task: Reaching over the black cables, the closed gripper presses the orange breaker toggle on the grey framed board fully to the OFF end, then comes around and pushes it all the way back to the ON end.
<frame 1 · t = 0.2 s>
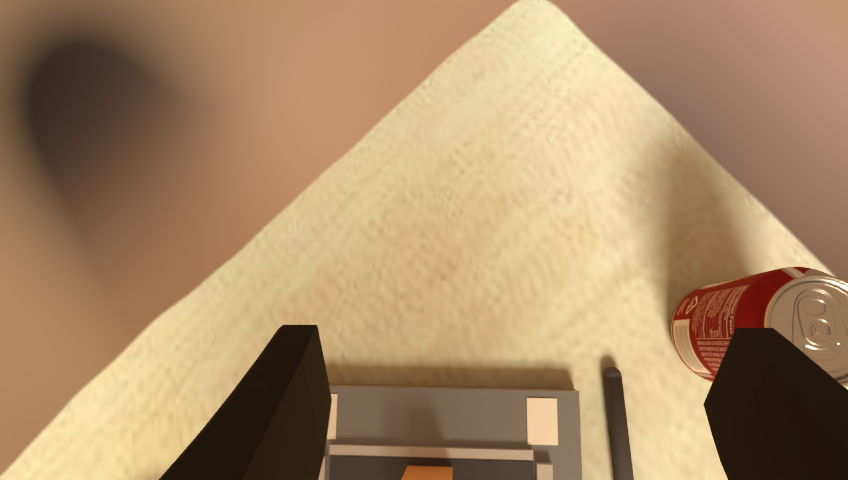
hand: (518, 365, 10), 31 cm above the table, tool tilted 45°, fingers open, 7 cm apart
soda can: (715, 333, 39), on the table
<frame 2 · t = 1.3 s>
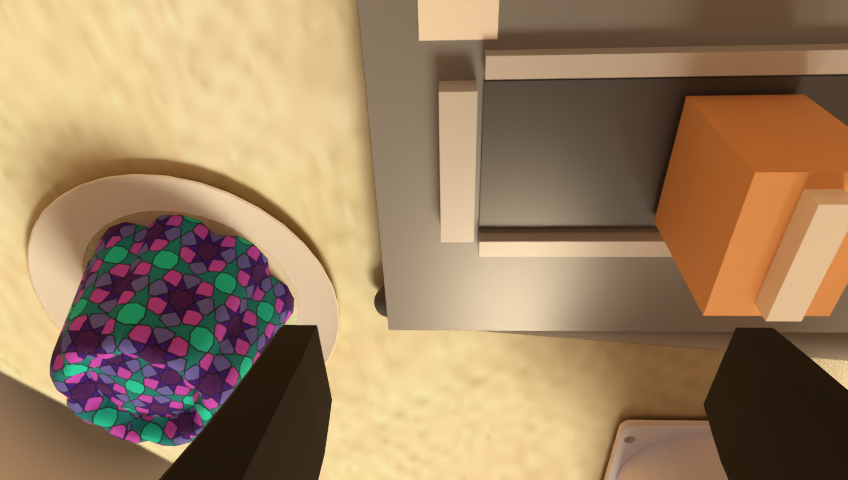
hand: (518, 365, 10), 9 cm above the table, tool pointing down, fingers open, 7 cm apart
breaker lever: (760, 208, 14), point 4 cm above the table, slide at 0.0 cm
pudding: (197, 291, 23), on the table
grey framed board: (698, 133, 17), on the table
cord b: (696, 324, 22), on the table
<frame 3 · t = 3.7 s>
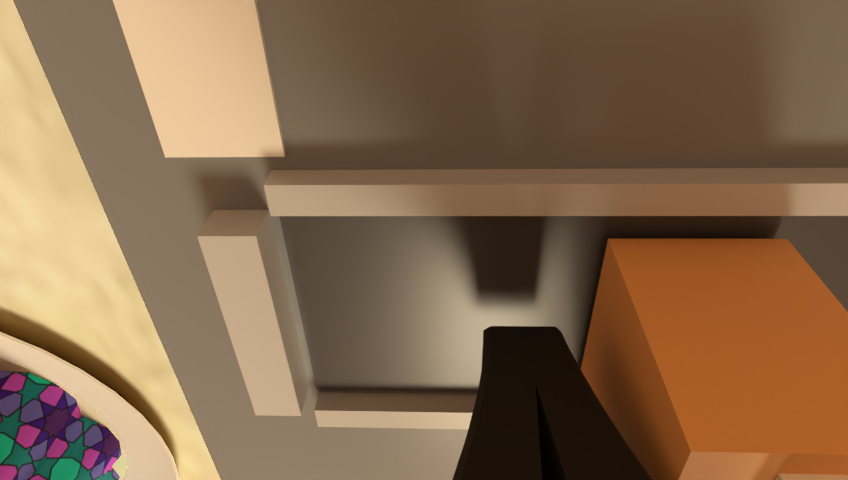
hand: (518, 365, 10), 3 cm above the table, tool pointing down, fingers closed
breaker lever: (716, 428, 9), point 4 cm above the table, slide at -0.4 cm, touching gripper
grey framed board: (622, 261, 12), on the table
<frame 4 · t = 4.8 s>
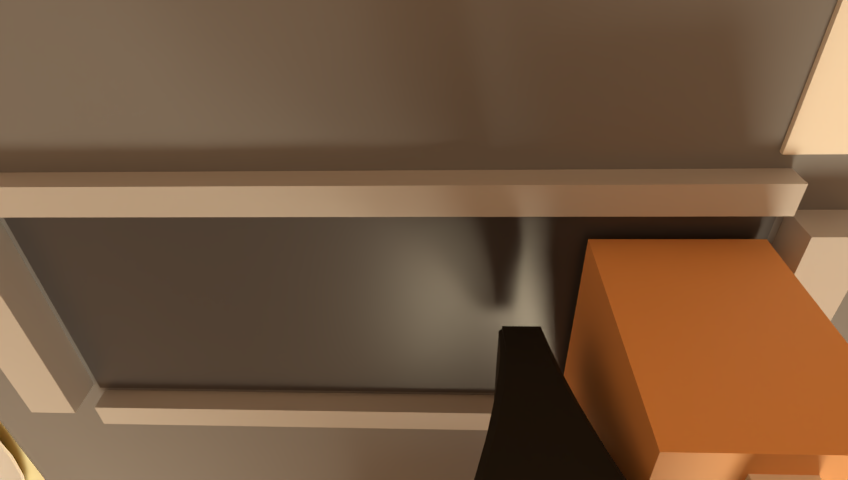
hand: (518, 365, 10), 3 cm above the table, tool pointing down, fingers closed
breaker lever: (695, 428, 9), point 4 cm above the table, slide at -5.2 cm, touching gripper
grey framed board: (393, 261, 13), on the table
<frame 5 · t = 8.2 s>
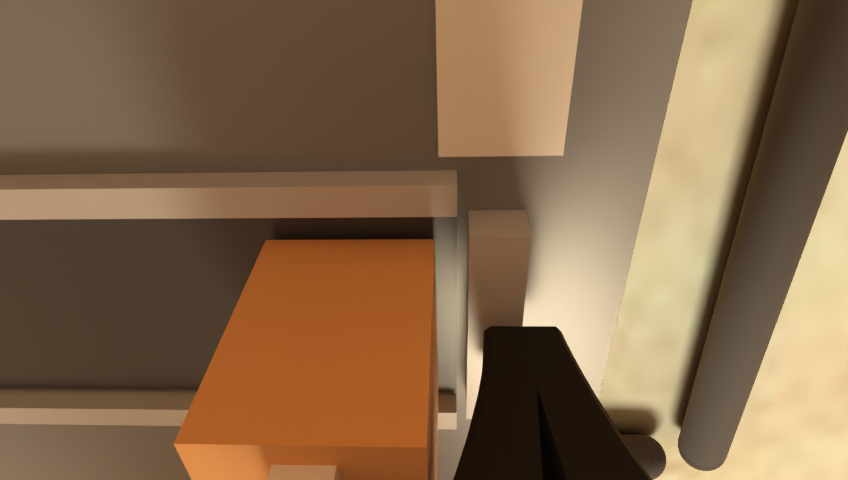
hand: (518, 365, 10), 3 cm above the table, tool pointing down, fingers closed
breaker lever: (342, 422, 9), point 4 cm above the table, slide at -4.9 cm, touching gripper
cord a: (260, 433, 17), resting on grey framed board
cord c: (755, 222, 12), on the table
grey framed board: (159, 262, 13), on the table
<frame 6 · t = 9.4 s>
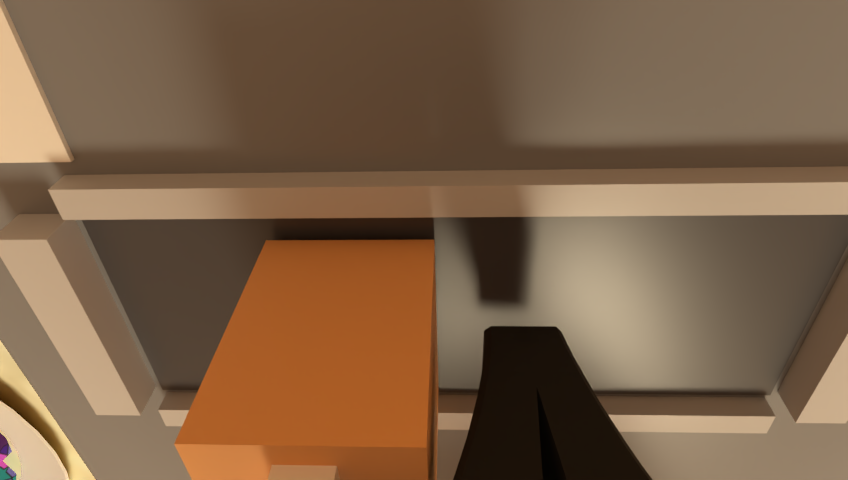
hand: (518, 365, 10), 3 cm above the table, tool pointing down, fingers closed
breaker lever: (342, 423, 9), point 4 cm above the table, slide at 1.9 cm, touching gripper
grey framed board: (457, 261, 12), on the table
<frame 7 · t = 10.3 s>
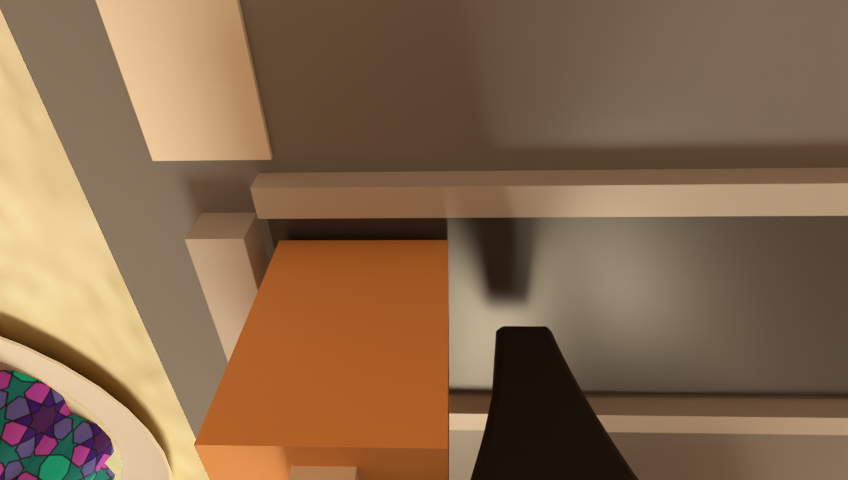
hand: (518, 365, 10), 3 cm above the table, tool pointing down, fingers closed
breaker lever: (356, 423, 9), point 4 cm above the table, slide at 5.1 cm, touching gripper
grey framed board: (611, 261, 12), on the table
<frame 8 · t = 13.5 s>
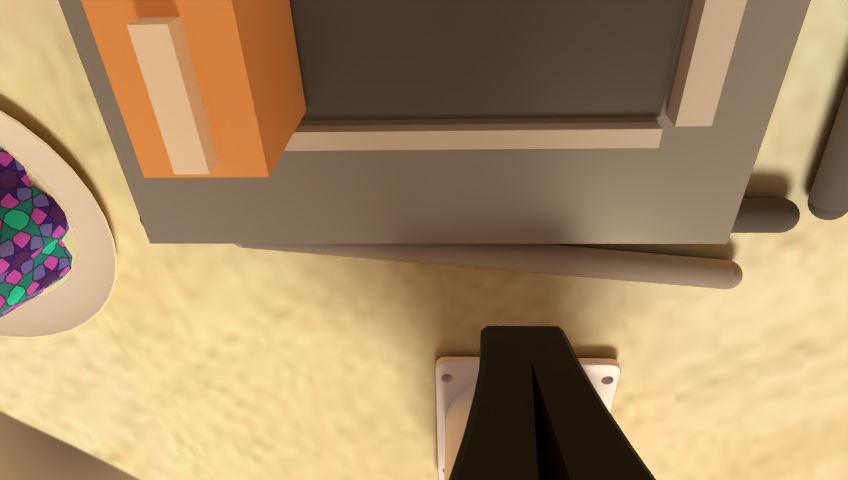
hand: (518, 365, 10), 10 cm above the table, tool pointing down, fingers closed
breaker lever: (211, 69, 13), point 4 cm above the table, slide at 5.1 cm
cord a: (459, 207, 20), resting on grey framed board
grey framed board: (427, 21, 17), on the table
cord b: (485, 245, 21), on the table
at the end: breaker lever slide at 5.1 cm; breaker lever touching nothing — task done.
